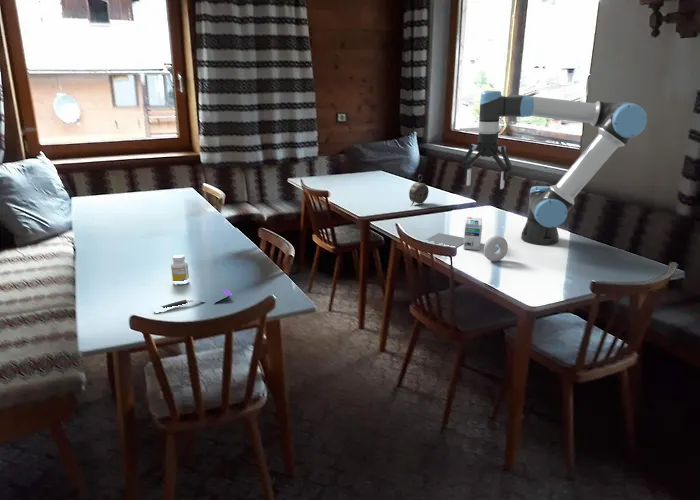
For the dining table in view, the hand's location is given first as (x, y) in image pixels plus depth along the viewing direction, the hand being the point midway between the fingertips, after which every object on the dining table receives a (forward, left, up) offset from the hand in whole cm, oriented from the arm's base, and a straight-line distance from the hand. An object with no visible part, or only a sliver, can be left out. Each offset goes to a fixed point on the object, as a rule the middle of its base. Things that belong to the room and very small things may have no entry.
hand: (484, 186), depth 222 cm
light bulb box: (+3, +2, -25) cm, 25 cm away
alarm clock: (+55, -47, -25) cm, 77 cm away
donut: (-12, +14, -25) cm, 31 cm away
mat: (+15, +2, -25) cm, 29 cm away
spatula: (+49, +108, -26) cm, 121 cm away
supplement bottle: (+67, +98, -25) cm, 121 cm away
